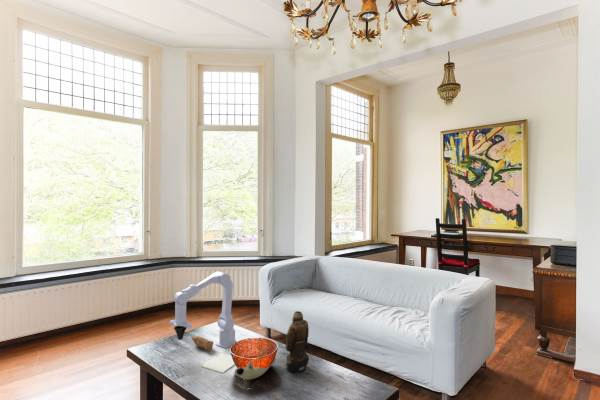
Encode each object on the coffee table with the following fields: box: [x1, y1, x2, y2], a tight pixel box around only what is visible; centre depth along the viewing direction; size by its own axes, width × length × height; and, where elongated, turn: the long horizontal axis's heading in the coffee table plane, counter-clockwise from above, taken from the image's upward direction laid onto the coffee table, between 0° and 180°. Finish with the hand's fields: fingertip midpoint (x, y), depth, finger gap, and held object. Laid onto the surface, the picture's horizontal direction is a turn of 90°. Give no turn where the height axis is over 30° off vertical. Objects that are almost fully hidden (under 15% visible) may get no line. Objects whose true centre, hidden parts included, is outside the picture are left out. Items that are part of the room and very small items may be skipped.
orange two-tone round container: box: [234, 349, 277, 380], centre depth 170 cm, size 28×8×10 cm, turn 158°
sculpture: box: [285, 310, 310, 374], centre depth 180 cm, size 12×13×30 cm
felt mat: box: [201, 352, 236, 374], centre depth 184 cm, size 16×14×1 cm
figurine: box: [191, 335, 214, 352], centre depth 201 cm, size 8×8×15 cm
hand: (180, 339), depth 189 cm, fingers closed
